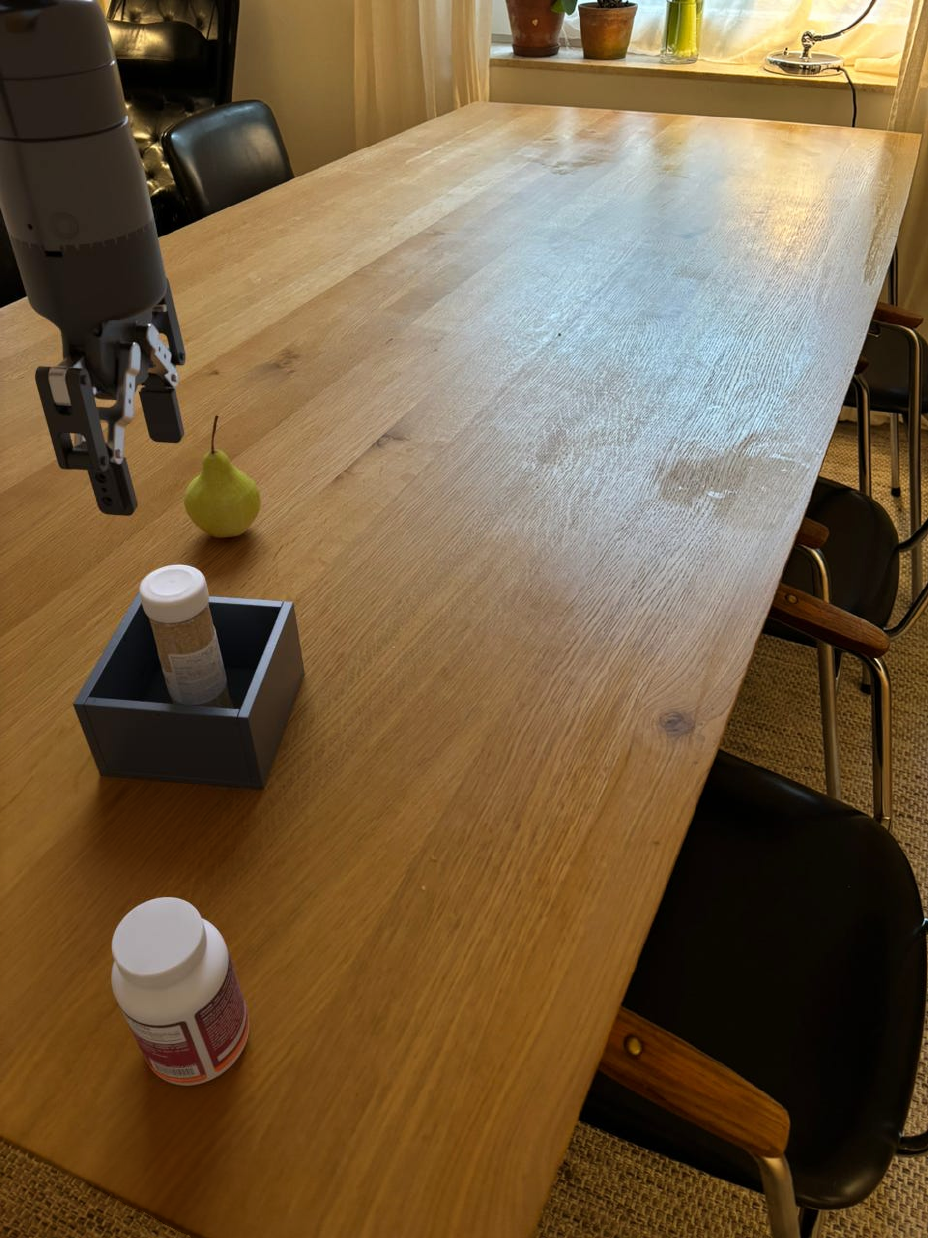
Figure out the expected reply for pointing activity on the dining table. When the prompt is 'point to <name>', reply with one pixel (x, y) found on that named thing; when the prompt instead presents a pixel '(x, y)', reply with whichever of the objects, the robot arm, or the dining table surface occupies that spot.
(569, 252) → the dining table surface
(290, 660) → the dark grey open box
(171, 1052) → the pill bottle
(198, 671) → the sprinkles bottle
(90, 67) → the robot arm
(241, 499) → the fruit
